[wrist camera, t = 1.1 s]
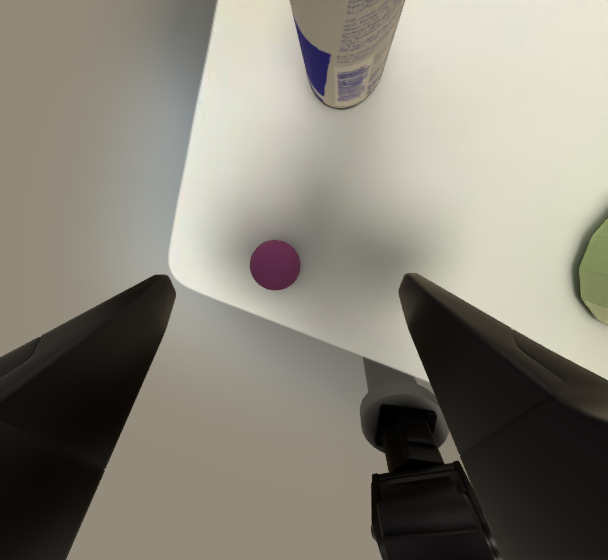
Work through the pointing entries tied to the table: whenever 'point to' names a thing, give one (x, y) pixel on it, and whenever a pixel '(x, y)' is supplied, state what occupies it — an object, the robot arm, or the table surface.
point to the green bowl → (596, 274)
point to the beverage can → (345, 45)
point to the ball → (275, 265)
